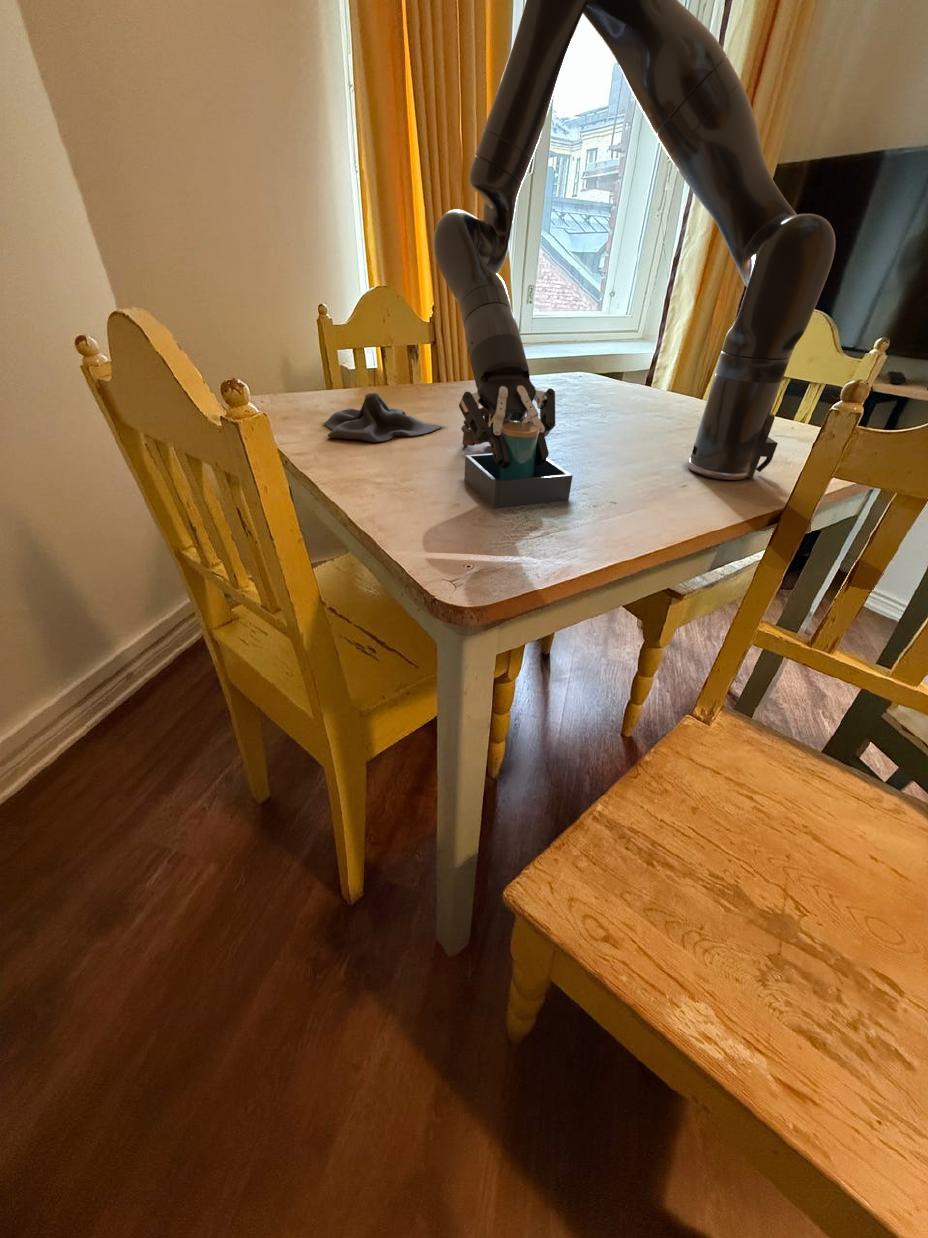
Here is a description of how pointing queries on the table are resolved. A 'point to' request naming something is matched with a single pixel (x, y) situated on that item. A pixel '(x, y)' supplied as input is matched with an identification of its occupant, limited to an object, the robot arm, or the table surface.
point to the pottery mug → (467, 433)
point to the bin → (516, 483)
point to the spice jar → (519, 450)
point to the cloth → (375, 422)
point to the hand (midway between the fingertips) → (523, 463)
